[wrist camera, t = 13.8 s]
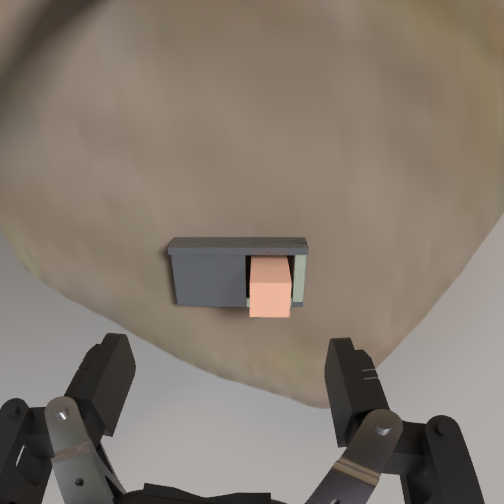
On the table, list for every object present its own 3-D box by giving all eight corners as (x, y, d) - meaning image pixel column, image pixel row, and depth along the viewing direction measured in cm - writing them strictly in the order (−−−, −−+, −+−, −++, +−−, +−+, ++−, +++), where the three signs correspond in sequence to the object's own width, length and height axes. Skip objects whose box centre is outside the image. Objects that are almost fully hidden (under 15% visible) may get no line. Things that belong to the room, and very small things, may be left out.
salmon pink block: (251, 253, 37) (249, 282, 31) (286, 253, 37) (291, 283, 31) (251, 283, 39) (249, 316, 32) (284, 283, 39) (289, 317, 32)
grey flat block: (174, 237, 37) (167, 247, 34) (304, 237, 36) (308, 247, 33) (181, 296, 40) (175, 310, 37) (300, 298, 39) (303, 311, 37)
